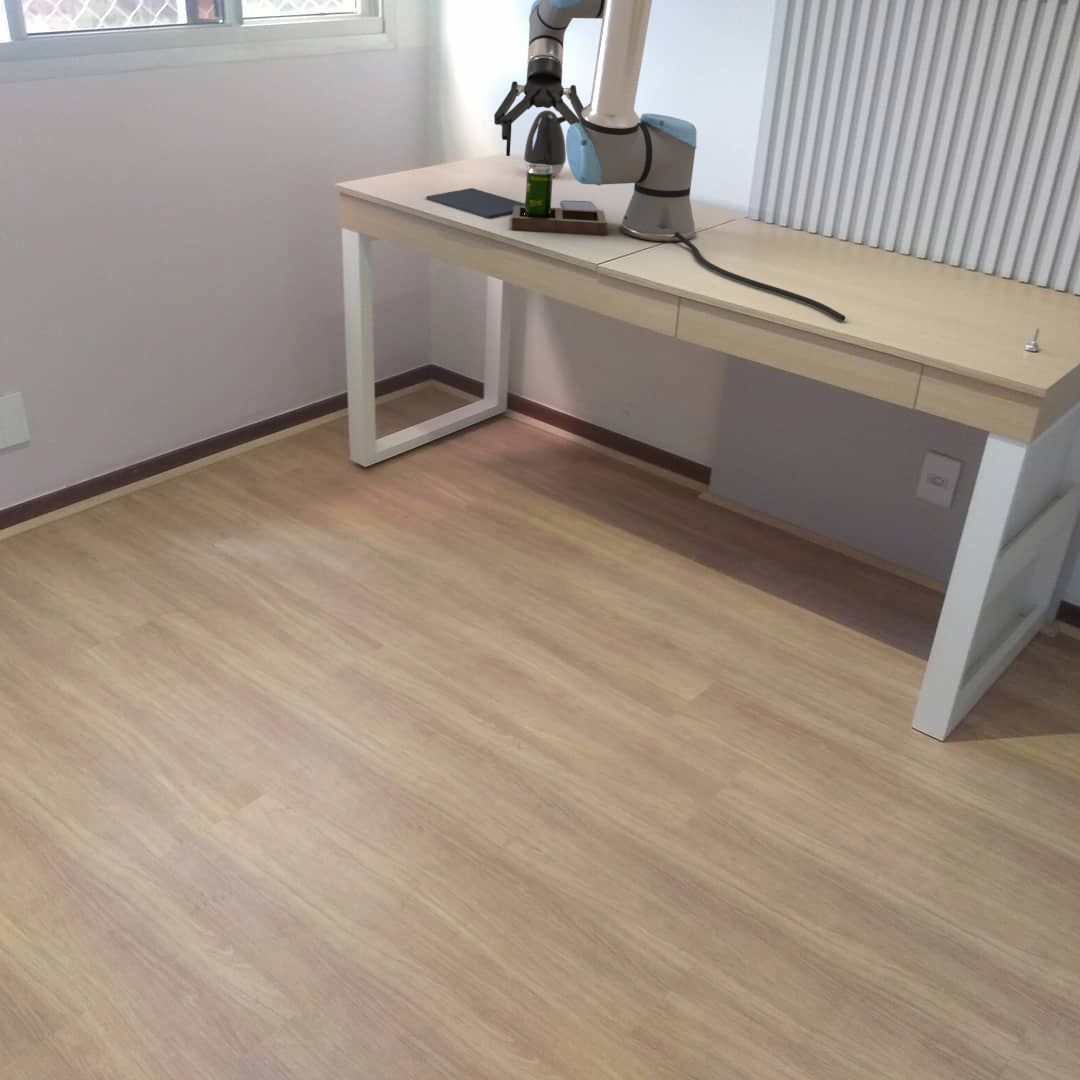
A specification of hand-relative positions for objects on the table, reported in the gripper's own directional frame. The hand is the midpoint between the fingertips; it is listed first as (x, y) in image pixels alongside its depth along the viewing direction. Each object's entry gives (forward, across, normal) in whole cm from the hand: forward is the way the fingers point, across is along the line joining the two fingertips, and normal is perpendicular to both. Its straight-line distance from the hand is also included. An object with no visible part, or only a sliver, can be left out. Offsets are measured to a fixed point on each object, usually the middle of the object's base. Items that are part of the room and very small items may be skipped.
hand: (540, 154), depth 243 cm
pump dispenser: (-20, -1, -39) cm, 43 cm away
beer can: (+14, 0, -6) cm, 15 cm away
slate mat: (+3, +13, -16) cm, 21 cm away
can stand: (+13, -4, -5) cm, 15 cm away
